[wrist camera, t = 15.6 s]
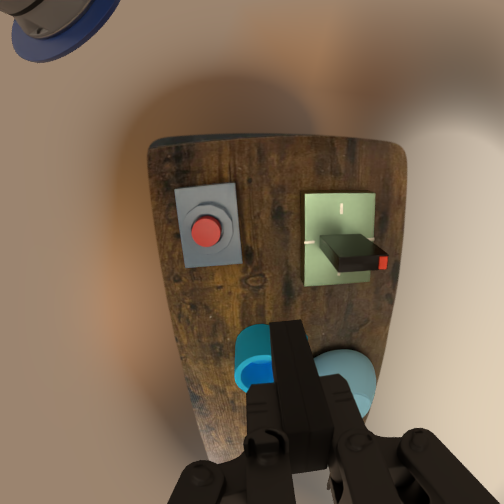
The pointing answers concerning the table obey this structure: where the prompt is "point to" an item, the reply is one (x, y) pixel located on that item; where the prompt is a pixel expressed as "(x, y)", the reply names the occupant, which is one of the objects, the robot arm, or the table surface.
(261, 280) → the table surface
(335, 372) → the sugar bowl
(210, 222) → the button
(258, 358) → the mug
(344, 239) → the black slab
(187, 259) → the button housing
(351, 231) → the dial panel
